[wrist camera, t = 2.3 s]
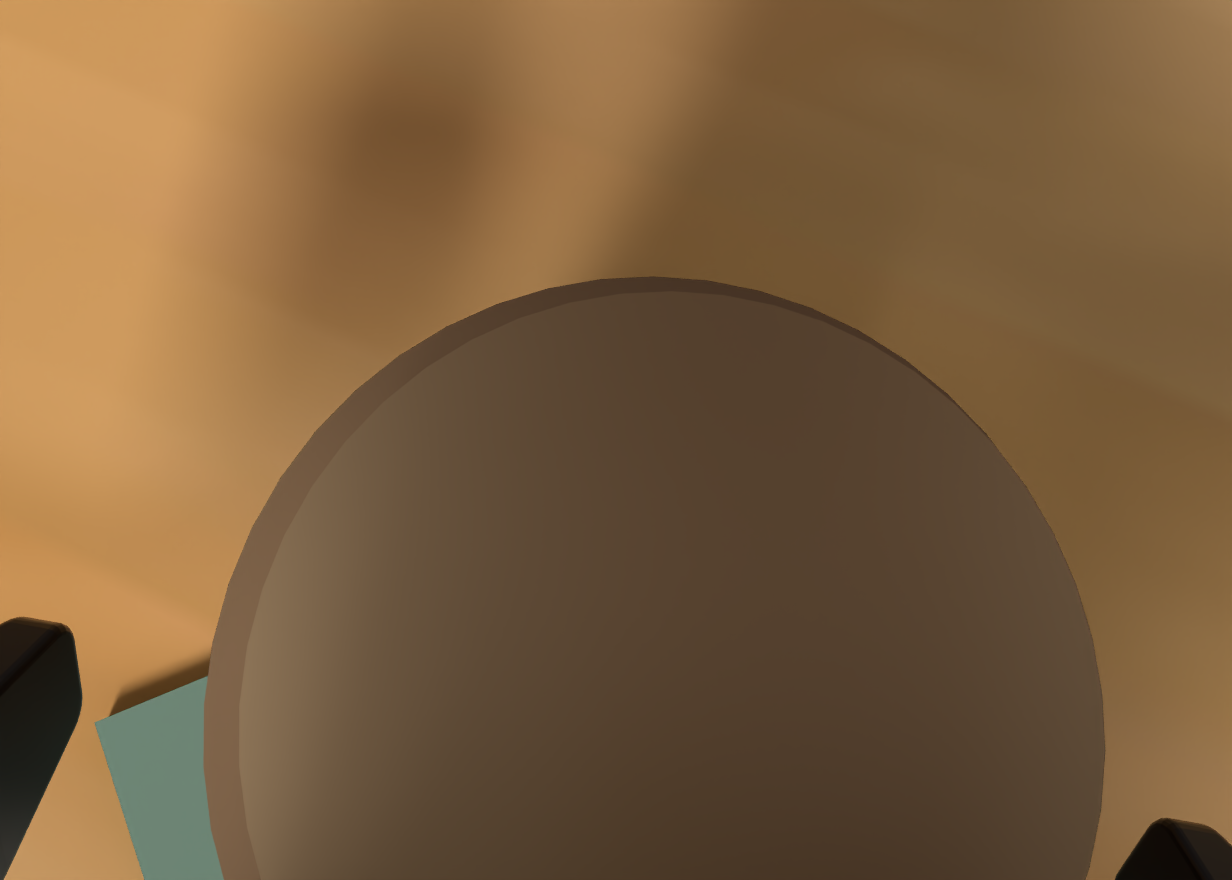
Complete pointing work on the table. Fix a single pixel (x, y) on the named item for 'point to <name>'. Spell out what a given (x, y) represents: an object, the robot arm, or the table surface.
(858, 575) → the pepper mill
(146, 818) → the mat
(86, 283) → the table surface
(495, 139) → the table surface
